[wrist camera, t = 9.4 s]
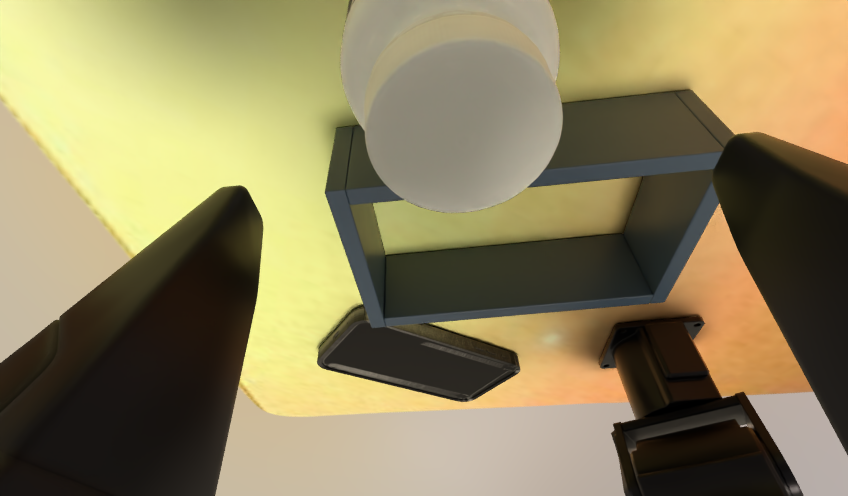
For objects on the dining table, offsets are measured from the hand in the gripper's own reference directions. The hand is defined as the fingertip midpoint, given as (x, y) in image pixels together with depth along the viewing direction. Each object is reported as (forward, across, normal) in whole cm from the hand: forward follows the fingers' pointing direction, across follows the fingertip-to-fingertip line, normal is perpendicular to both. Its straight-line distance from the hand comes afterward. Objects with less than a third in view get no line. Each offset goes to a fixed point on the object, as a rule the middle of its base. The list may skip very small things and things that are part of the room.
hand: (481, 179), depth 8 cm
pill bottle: (+11, 0, 0) cm, 11 cm away
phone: (+11, +3, +26) cm, 28 cm away
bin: (+11, -3, +10) cm, 15 cm away
